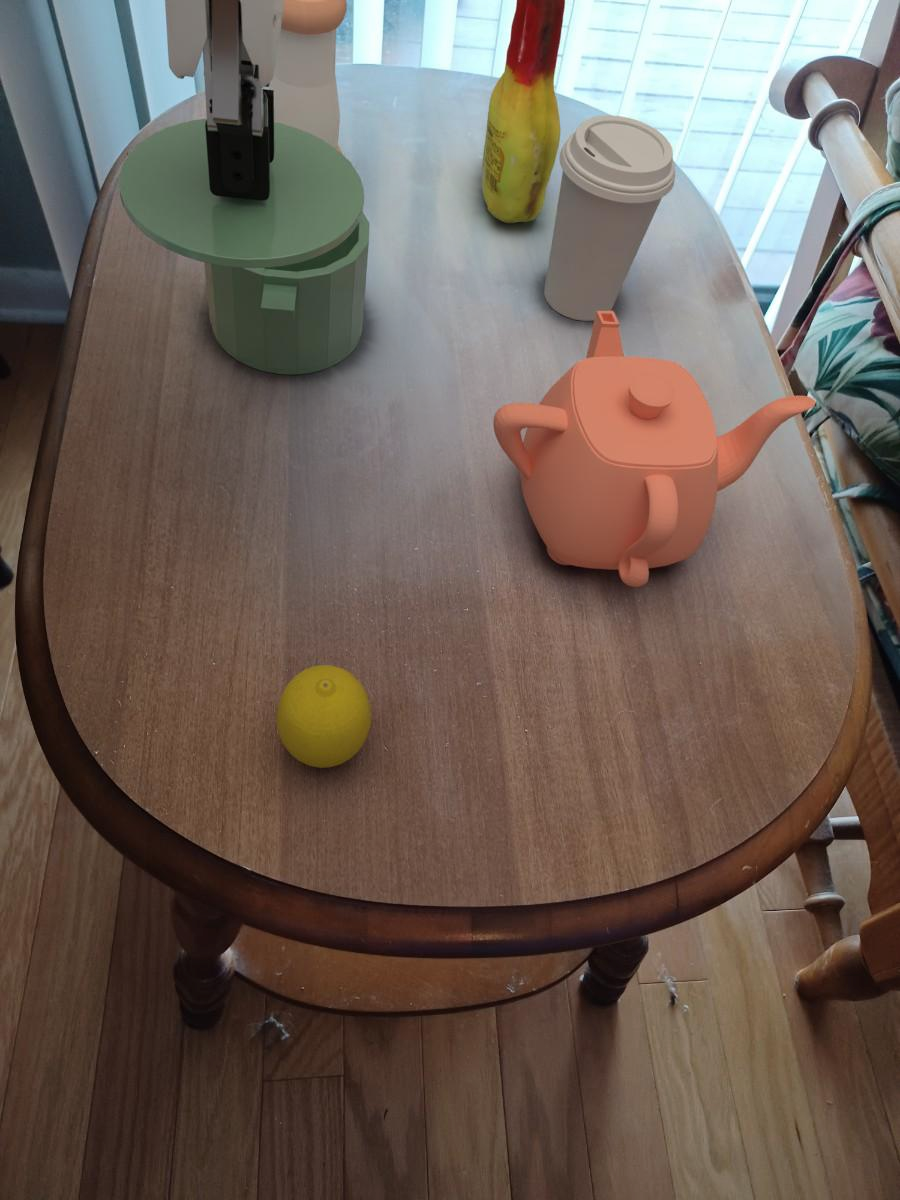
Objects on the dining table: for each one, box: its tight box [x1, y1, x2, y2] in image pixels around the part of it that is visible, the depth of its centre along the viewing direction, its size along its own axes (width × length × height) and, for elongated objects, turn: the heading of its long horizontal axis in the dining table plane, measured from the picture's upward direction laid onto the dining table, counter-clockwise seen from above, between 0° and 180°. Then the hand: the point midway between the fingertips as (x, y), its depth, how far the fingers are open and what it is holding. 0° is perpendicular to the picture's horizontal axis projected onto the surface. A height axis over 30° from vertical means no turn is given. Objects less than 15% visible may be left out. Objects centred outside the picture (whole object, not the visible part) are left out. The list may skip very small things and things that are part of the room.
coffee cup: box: [543, 115, 676, 322], centre depth 81 cm, size 10×10×15 cm
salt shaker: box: [268, 0, 348, 154], centre depth 84 cm, size 7×7×19 cm
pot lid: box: [118, 86, 365, 268], centre depth 52 cm, size 14×14×6 cm
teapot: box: [492, 310, 816, 588], centre depth 68 cm, size 16×17×14 cm
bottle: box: [480, 0, 566, 224], centre depth 86 cm, size 12×6×20 cm, turn 6°
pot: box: [203, 210, 370, 376], centre depth 77 cm, size 13×18×10 cm
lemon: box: [276, 664, 372, 769], centre depth 56 cm, size 6×6×8 cm
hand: (243, 173), depth 53 cm, fingers closed on pot lid, 2 cm apart
